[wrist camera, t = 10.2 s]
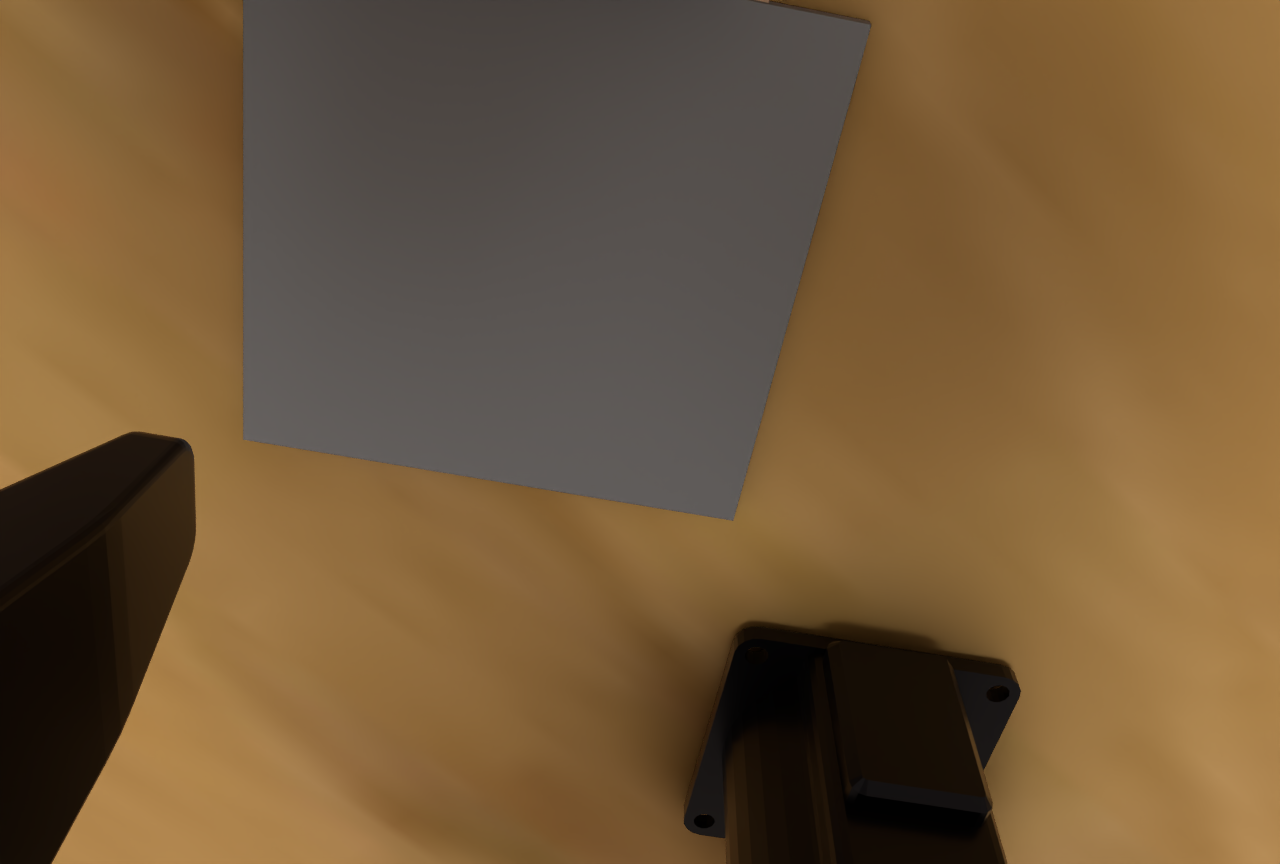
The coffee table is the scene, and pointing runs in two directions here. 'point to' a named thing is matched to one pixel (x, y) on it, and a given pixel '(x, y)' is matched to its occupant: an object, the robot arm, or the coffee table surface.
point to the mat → (533, 232)
